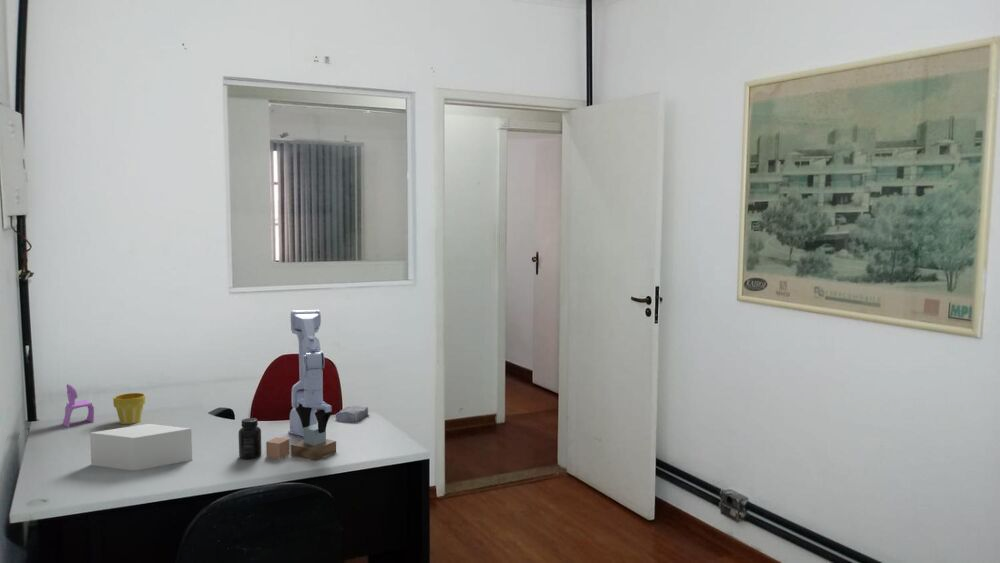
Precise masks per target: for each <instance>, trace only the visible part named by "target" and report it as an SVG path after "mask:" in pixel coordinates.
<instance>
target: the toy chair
mask: <svg viewBox="0 0 1000 563" xmlns="http://www.w3.org/2000/svg"><path fill="white" fill-rule="evenodd" d="M66 394H67V398H68V399H67V400H68V402H67V403H66V406H65V408H64V418H63V420H62V421H63V422H62V424H61V425H63V426H65V427H67V428H70V425H71V424H70V423H71V422H70V421H71V416H72V413H73V411H74V410H77V409H79V408H84V407H85V408H86V407H87V411H88V413H87V417H86V419H85V420H86V421H88V422H90V423H93V424H94V421H95V420H94V419H95V415H94V414H95V407H94V405H93V402H90V401H88V400H87V399H84V400H79V401H75V400H77V398H78V394H77V390H76V388H75V387H74V386H73V385H72V384H69V383H67V384H66ZM78 399H79V398H78Z"/></svg>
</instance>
